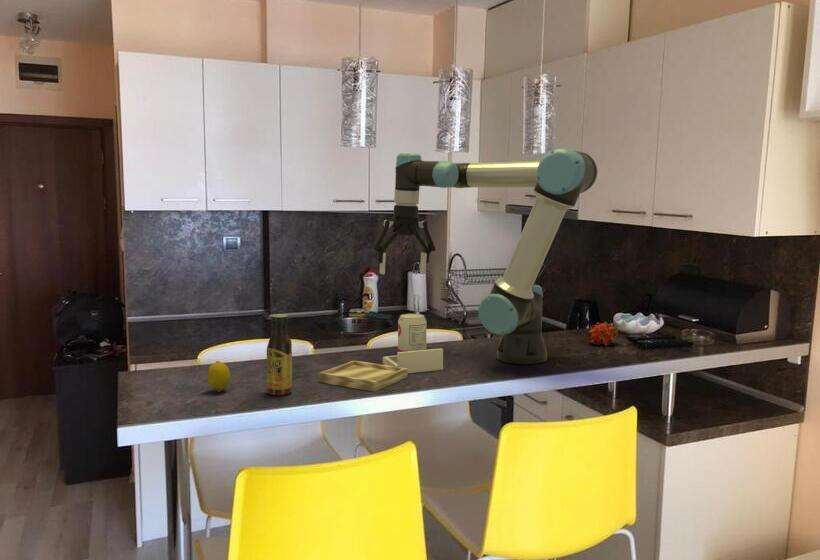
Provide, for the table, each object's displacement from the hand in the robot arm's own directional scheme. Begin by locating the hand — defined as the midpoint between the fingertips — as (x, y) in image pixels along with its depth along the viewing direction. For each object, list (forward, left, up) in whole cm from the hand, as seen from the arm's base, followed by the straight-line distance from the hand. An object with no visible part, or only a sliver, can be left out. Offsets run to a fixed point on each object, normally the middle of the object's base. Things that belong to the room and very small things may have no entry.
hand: (402, 273), depth 205 cm
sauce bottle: (+4, +52, -26) cm, 58 cm away
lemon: (+18, +59, -26) cm, 67 cm away
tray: (-7, +31, -26) cm, 41 cm away
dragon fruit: (-51, -45, -26) cm, 72 cm away
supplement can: (-11, +12, -26) cm, 30 cm away
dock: (-11, +12, -26) cm, 30 cm away
